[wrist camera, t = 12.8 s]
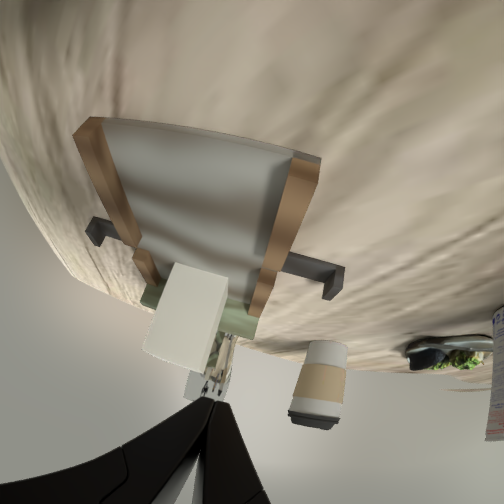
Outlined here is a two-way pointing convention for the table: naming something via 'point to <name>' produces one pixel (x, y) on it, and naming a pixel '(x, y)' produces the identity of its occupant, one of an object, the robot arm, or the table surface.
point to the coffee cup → (320, 386)
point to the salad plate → (449, 352)
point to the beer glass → (213, 370)
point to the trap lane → (204, 209)
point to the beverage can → (497, 381)
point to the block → (187, 317)
